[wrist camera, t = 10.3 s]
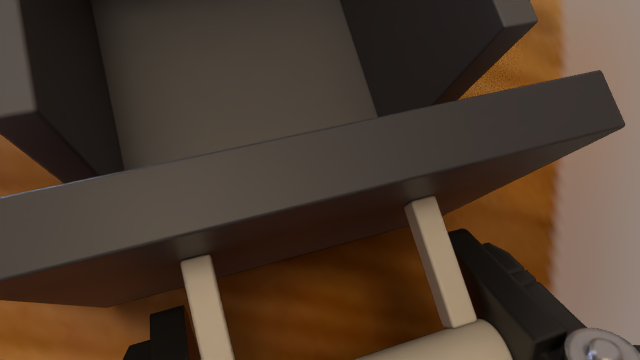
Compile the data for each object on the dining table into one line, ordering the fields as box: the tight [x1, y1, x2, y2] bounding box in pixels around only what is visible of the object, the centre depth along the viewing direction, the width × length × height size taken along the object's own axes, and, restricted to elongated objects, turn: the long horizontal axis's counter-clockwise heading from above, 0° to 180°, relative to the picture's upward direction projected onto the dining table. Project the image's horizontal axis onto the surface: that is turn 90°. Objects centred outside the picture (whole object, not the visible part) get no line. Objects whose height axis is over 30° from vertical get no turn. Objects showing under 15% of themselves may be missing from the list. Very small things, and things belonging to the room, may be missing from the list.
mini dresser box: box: [0, 0, 625, 360], centre depth 13 cm, size 19×11×9 cm, turn 16°
